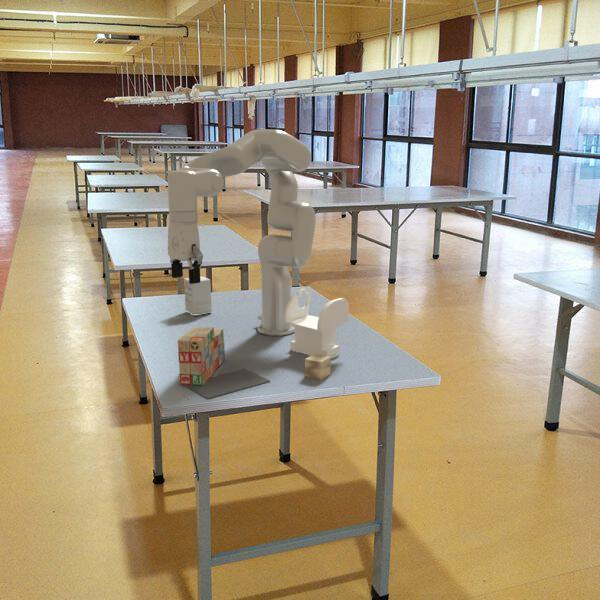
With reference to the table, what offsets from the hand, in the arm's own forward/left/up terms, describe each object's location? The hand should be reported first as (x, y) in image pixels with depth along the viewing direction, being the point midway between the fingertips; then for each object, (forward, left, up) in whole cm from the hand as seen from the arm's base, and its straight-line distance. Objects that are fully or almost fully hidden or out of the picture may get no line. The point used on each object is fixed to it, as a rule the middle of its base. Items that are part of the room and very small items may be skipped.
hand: (185, 280), depth 187 cm
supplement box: (-46, +30, -25) cm, 60 cm away
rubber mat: (+19, 0, -24) cm, 31 cm away
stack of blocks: (+8, 0, -24) cm, 26 cm away
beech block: (+29, +23, -25) cm, 44 cm away
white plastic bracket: (+14, +35, -25) cm, 45 cm away
